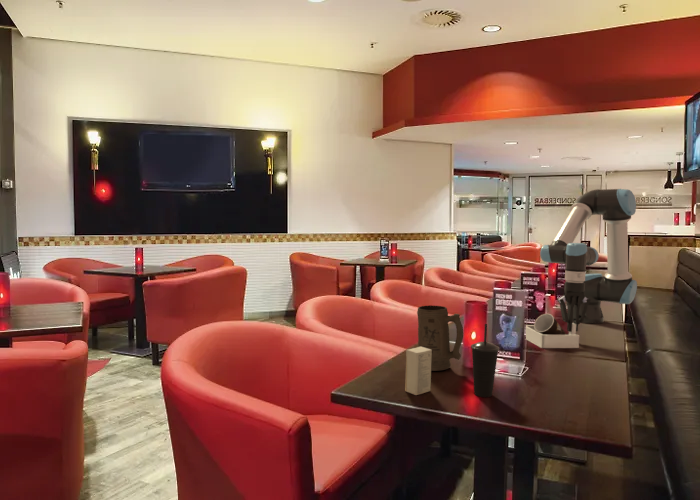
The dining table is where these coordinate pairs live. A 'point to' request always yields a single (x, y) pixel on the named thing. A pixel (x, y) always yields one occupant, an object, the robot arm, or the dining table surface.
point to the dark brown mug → (548, 325)
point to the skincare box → (418, 370)
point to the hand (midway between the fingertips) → (571, 339)
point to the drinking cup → (484, 366)
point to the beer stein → (438, 335)
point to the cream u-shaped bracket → (551, 339)
